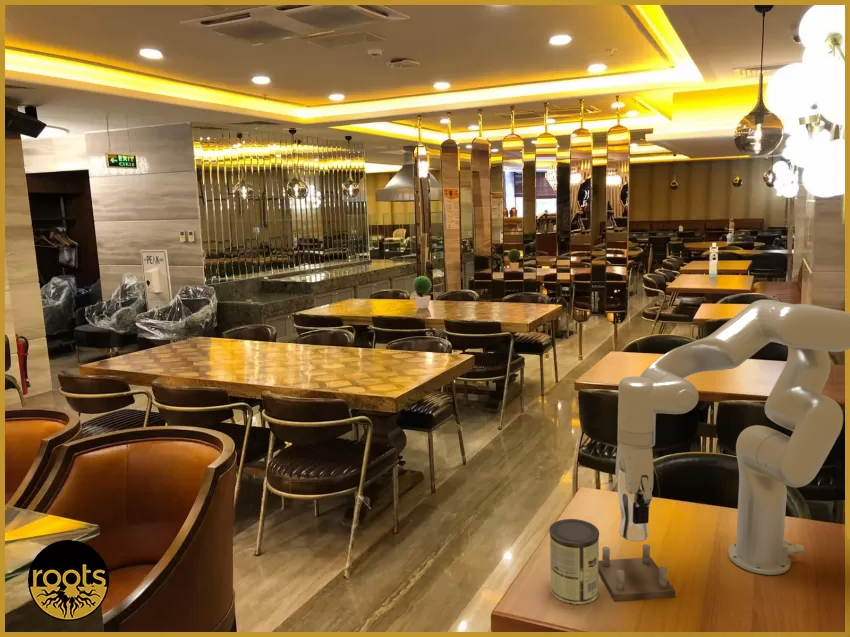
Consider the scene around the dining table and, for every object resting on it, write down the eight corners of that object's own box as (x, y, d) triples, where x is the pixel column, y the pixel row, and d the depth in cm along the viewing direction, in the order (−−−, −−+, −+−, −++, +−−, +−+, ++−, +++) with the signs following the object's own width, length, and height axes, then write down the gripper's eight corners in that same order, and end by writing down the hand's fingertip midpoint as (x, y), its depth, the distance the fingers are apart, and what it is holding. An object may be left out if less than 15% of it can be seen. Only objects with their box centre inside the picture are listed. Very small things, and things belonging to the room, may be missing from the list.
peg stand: (650, 563, 147) (651, 541, 146) (675, 597, 134) (675, 573, 133) (595, 566, 147) (595, 544, 146) (614, 601, 134) (614, 577, 133)
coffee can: (557, 572, 145) (556, 515, 143) (603, 583, 140) (603, 523, 138) (543, 597, 136) (543, 536, 134) (592, 610, 131) (593, 547, 129)
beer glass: (630, 523, 143) (632, 460, 141) (657, 535, 138) (659, 470, 135) (609, 533, 139) (611, 468, 137) (636, 546, 134) (638, 478, 131)
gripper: (605, 422, 143) (604, 497, 146) (633, 452, 126) (631, 536, 129) (638, 421, 143) (636, 496, 146) (671, 450, 126) (668, 534, 129)
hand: (634, 514), depth 138 cm, fingers closed on beer glass, 6 cm apart
